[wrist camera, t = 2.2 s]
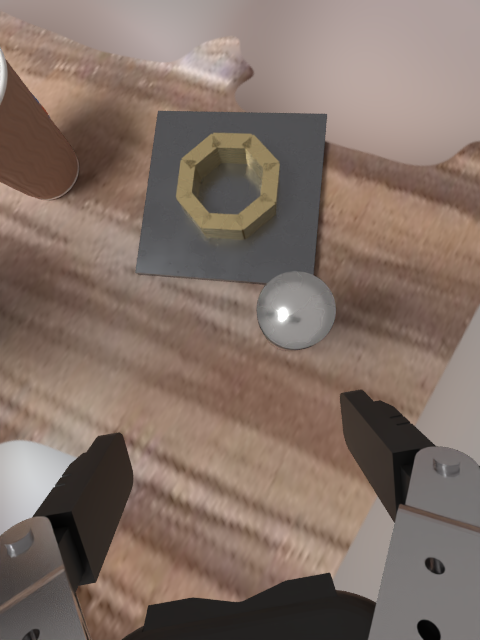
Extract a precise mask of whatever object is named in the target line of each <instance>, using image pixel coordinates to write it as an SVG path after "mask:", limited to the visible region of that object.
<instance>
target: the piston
mask: <svg viewBox="0 0 480 640" xmlns="http://www.w3.org/2000/svg"><path fill="white" fill-rule="evenodd" d="M335 315H336V306H335V300H334V297H333V295H332V293H331V291H330V289H329V288H328V286H327V285H326V284H325V283H324V282H323V281H322V280H320V279H319V278H318V277H316V276H314V275H312V274H309V273H306V272H300V271H293V272H287V273H283V274H281V275H278V276H276V277H275V278H273V279H272V280H271V281H269V282H268V283H267V284H266V286H265V287H264V288H263V290H262V291H261V294H260V296H259V299H258V302H257V318H258V323H259V325H260V328H261V330H262V332H263V334H264V335H265V337H266V339H267V340H268V342H269V343H270V344H271V345H273V346H274V347H275V348H277V349H280V350H284V351H292V350H300V349H305V348H308V347H311V346H312V345H314V344H316V343H318V342H319V341H321V340H322V339H323V338H324V337H325V336H326V335H327V334H328V333H329V331H330V329H331V328H332V325H333V323H334V320H335Z"/></svg>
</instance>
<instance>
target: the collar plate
mask: <svg viewBox="0 0 480 640" xmlns="http://www.w3.org/2000/svg"><path fill="white" fill-rule="evenodd" d="M326 120H327V114H300V113H246V112H191V111H158V115H157V122H156V129H155V136H154V143H153V150H152V158H151V165H150V172H149V179H148V186H147V193H146V200H145V208H144V215H143V222H142V229H141V236H140V243H139V251H138V258H137V265H136V272H135V273H137V274H140V275H152V276H164V277H177V278H189V279H202V280H214V281H226V282H239V283H251V284H263V285H266V284H267V283H268V282H269V281H271V280H272V279H273V278H275V277H276V276H278V275H281V274H283V273H287V272H293V271H300V272H306V273H309V274H312V275H314V263H315V251H316V239H317V227H318V216H319V204H320V192H321V180H322V168H323V156H324V145H325V132H326Z"/></svg>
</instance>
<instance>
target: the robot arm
mask: <svg viewBox="0 0 480 640" xmlns="http://www.w3.org/2000/svg"><path fill="white" fill-rule="evenodd" d="M340 404H341V414H342V424H343V433H344V437H345V441H346V444H347V446H348V449H349V450H350V452H351V454H352V455H353V457H354V458H355V460H356V462H357V463H358V465H359V467H360V468H361V470H362V471H363V473H364V475H365V476H366V478H367V479H368V481H369V483H370V484H371V486H372V487H373V489H374V491H375V492H376V494H377V496H378V497H379V499H380V500H381V502H382V504H383V505H384V507H385V508H386V510H387V512H388V513H389V515H390V516H391V518H392V520H393V521H394V523H395V525H394V529H393V533H392V538H391V542H390V547H389V551H388V555H387V559H386V564H385V568H384V573H383V577H382V582H381V586H380V590H379V594H378V599H377V603H376V602H374V601H372V600H370V599H368V598H365V597H363V596H360V595H357V594H354V593H350V592H346V591H339V590H335V587H334V584H333V580H332V577H331V574H330V573H326V574H320V575H315V576H309V577H303V578H298V579H292V580H287V581H284V582H282V583H280V584H278V585H276V586H274V587H272V588H269V589H267V590H265V591H263V592H261V593H259V594H257V595H255V596H253V597H251V598H249V599H247V600H245V601H242V602H229V601H220V600H211V599H202V598H188V599H182V600H176V601H171V602H165V603H160V604H154V605H149V606H148V609H147V614H146V619H145V623H144V626H142V627H140V628H139V629H137V630H135V631H134V632H132V633H130V634H129V635H127V636H126V637H125V638H123V639H122V640H480V466H478V464H477V463H476V462H475V461H474V460H473V459H472V458H471V457H469V456H468V455H466V454H464V453H463V452H460V451H458V450H455V449H451V448H447V447H438V446H435V445H434V444H433V443H432V442H431V441H430V440H429V439H427V437H426V436H425V435H423V434H422V433H421V432H420V431H419V430H418V429H417V428H416V427H415V426H414V425H413V424H410V421H408V420H407V419H406V418H405V417H403V416H402V414H401V413H400V412H399V411H398V410H397V409H396V408H395V407H393V406H391V405H389V404H387V403H385V402H382V401H373V400H372V399H371V398H370V397H369V396H368V395H367V394H366V393H365V392H364V391H363V390H356V391H350V392H344V393H341V394H340ZM132 486H133V470H132V466H131V462H130V459H129V455H128V452H127V448H126V444H125V441H124V438H123V435H122V434H121V433H113V434H107V435H102V436H98V437H97V438H96V439H95V441H94V442H93V444H92V445H91V446H90V448H89V449H88V451H87V452H86V453H83V454H82V455H80V456H79V457H78V458H77V459H76V460H75V461H73V462H72V463H71V464H70V465H69V467H68V468H67V469H66V471H65V472H64V474H63V475H62V478H60V479H59V481H58V482H57V483H56V485H55V487H54V488H53V489H52V490H51V492H50V493H49V495H48V496H47V497H46V499H45V500H44V501H43V503H42V504H41V506H40V507H39V509H38V510H37V511H36V513H35V514H34V515H33V517H32V518H30V519H26V520H24V521H22V522H20V523H18V524H16V525H14V526H13V527H11V528H10V529H8V530H7V531H5V532H4V533H3V534H2V535H1V536H0V640H91V637H90V633H89V630H88V627H87V624H86V621H85V618H84V615H83V612H82V609H81V606H80V603H79V600H78V597H77V594H76V590H77V588H78V586H80V585H85V584H91V583H96V581H97V578H98V576H99V573H100V570H101V568H102V565H103V563H104V560H105V557H106V555H107V552H108V550H109V547H110V544H111V542H112V539H113V537H114V534H115V531H116V529H117V526H118V524H119V521H120V518H121V516H122V513H123V511H124V508H125V505H126V503H127V500H128V498H129V495H130V492H131V490H132Z"/></svg>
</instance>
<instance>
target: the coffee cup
mask: <svg viewBox="0 0 480 640" xmlns="http://www.w3.org/2000/svg"><path fill="white" fill-rule="evenodd" d="M78 173H79V162H78V159H77V156H76V155H75V153H74V151H73V149H72V148H71V145H70V144H69V143H68V141H67V140H66V139H65V137H64V136H63V135H62V133H61V132H60V131H59V129H58V128H57V127H56V125H55V124H54V123H53V121H52V120H51V119H50V117H49V115H48V113H47V112H46V110H45V109H44V108H43V106H42V105H41V104H40V103H39V102H38V100H37V99H36V98H35V97H34V96H33V94H32V93H31V92H30V91H29V90H28V88H27V87H26V85H25V84H24V83H23V81H22V80H21V79H20V77H19V76H18V75H17V74H16V72H15V71H14V70H13V68H12V67H11V66H10V64H9V63H8V62H7V60H6V59H5V57H4V54H3V52H2V50H1V48H0V182H1V183H4V184H6V185H8V186H10V187H12V188H14V189H16V190H18V191H20V192H22V193H24V194H26V195H29V196H32V197H35V198H38V199H42V200H52V199H56V198H59V197H61V196H63V195H64V194H66V193H67V192H68V191H69V190H70V189H71V188H72V186H73V185H74V184H75V182H76V180H77V177H78Z"/></svg>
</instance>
